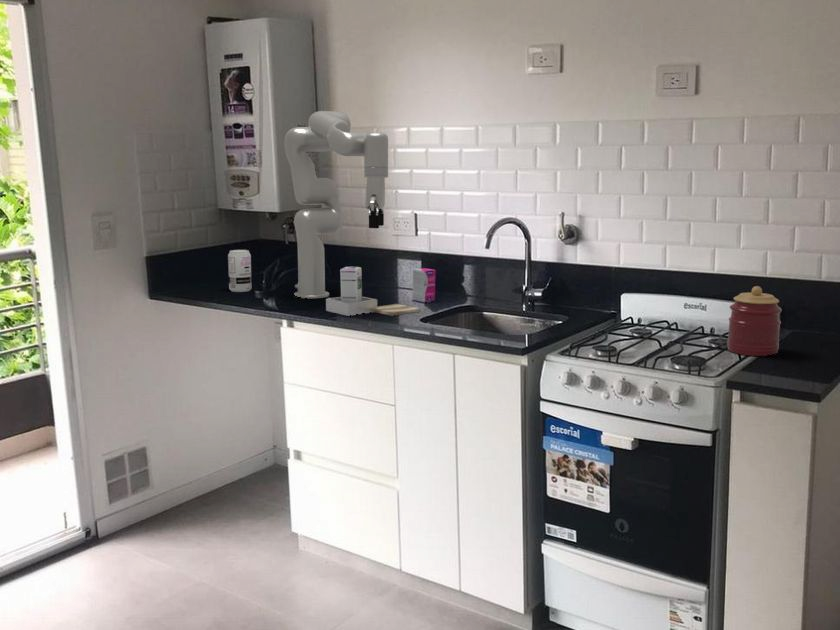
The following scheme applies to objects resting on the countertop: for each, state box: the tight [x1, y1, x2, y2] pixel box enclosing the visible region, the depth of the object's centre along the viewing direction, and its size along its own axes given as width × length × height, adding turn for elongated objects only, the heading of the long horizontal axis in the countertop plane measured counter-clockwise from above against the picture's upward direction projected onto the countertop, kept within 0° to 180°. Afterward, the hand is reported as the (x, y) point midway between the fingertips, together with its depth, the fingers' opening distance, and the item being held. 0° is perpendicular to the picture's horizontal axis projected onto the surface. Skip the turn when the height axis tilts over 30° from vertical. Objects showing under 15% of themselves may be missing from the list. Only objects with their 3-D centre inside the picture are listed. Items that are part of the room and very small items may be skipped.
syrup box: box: [339, 266, 363, 303], centre depth 291 cm, size 6×6×14 cm
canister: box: [726, 285, 783, 357], centre depth 235 cm, size 13×13×18 cm
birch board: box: [374, 303, 421, 317], centre depth 293 cm, size 12×12×1 cm
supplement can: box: [227, 249, 253, 293], centre depth 332 cm, size 8×8×15 cm
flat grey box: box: [325, 296, 378, 317], centre depth 295 cm, size 19×12×4 cm, turn 41°
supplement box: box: [412, 267, 437, 304], centre depth 311 cm, size 6×6×12 cm
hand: (376, 226), depth 284 cm, fingers open, 9 cm apart
